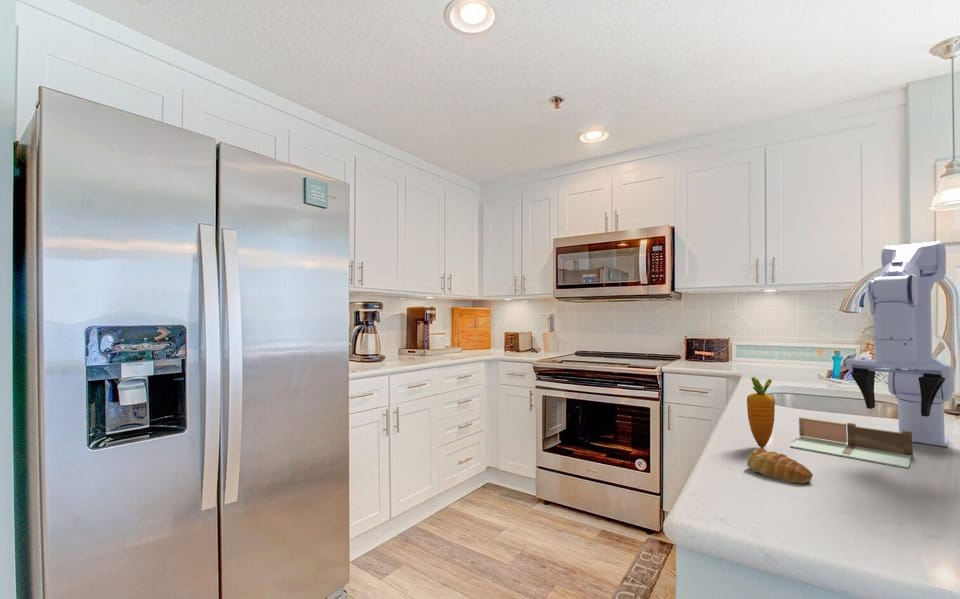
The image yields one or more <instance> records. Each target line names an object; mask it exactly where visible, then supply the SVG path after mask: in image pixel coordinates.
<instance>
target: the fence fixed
mask: <svg viewBox="0 0 960 599" xmlns="http://www.w3.org/2000/svg"><path fill="white" fill-rule="evenodd" d="M856 425H857V424H856V423H854V422H853V423H852V422H847V423H846V429H847V440H848V445H852V446H860V447H866V448H872V449H879V450H885V451H891V452H897V453H903V454H905V455H912V456H913V455H914V453H913V452H914V451H913V450H914V449H913V442H912V432H911V431H902V433H900V432H898V431H894V430H893V431H892V430H884V429H878V428H872V427H871V428H870V427H862V426H856Z"/></svg>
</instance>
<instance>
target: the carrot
mask: <svg viewBox="0 0 960 599" xmlns="http://www.w3.org/2000/svg"><path fill="white" fill-rule="evenodd" d="M750 379H751V382H752V384H753V386H752V389H753V390H754V391H755V393H754V392H753V393H751V394H749V395H748V396H747V397H746V408H747V409H746V410H747V418H748V419H747V420H748V424H749V428H750V431H751V435H752V437H753V438H754V441H755V443H757V445H758V447H759V448H761V449H764V448H765V447H766V446H767V445H768V443H769V441H770V439H771V436H772V434H773V430H774V426H775V425H774V423H775V410H776V409H775V405H776V404H775V403H776V402H775V398H774V397H773V396H772V395H769V394H767V393H766V392H767V390H768V389H769V387H770V386H771V383H772V382H773V380H772V379H770V378H769V379H767V380H766V382H765V383H764V386H763V385H762V384H761V381H760V380H759V378H756V377H755V376H752V377H751V378H750Z"/></svg>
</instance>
